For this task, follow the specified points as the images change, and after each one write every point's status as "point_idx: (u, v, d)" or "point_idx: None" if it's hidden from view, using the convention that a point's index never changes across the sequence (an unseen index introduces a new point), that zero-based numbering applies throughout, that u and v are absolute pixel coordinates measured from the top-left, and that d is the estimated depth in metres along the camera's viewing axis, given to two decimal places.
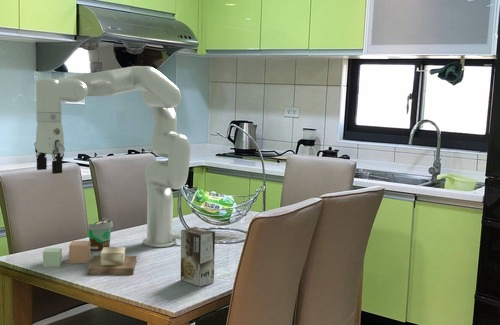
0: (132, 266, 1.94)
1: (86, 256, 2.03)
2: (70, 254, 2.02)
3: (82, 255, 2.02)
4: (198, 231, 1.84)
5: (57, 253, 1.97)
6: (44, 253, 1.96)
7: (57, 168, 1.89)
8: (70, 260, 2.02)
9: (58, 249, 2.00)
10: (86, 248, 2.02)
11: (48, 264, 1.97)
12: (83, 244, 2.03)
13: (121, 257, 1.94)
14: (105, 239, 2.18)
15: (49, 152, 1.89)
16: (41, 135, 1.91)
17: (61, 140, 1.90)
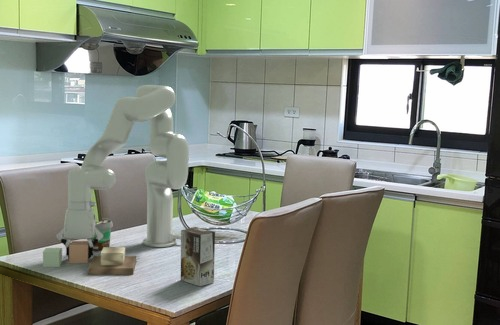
0: (132, 266, 1.94)
1: (86, 256, 2.03)
2: (70, 254, 2.02)
3: (82, 255, 2.02)
4: (198, 231, 1.84)
5: (57, 253, 1.97)
6: (44, 253, 1.96)
7: (92, 253, 2.05)
8: (70, 259, 2.02)
9: (58, 249, 2.00)
10: (86, 248, 2.02)
11: (48, 264, 1.97)
12: (83, 244, 2.03)
13: (121, 257, 1.94)
14: (105, 239, 2.18)
15: (90, 237, 2.03)
16: (77, 223, 2.01)
17: (95, 224, 2.06)
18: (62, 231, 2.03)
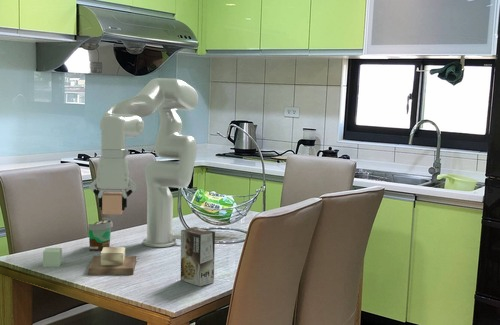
0: (132, 266, 1.94)
1: (120, 207, 1.93)
2: (103, 205, 1.92)
3: (116, 206, 1.93)
4: (198, 231, 1.84)
5: (57, 253, 1.97)
6: (44, 253, 1.96)
7: (126, 204, 1.96)
8: (103, 211, 1.93)
9: (58, 249, 2.00)
10: (120, 199, 1.93)
11: (48, 264, 1.97)
12: (117, 195, 1.94)
13: (121, 257, 1.94)
14: (105, 239, 2.18)
15: (124, 187, 1.93)
16: (111, 172, 1.92)
17: None
18: (95, 181, 1.93)
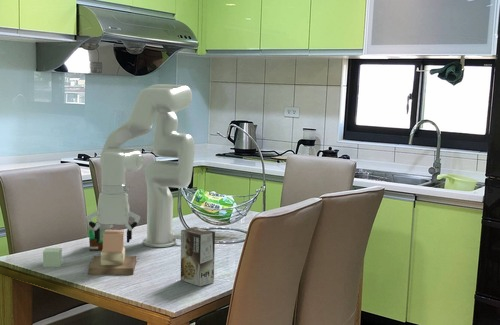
0: (132, 266, 1.94)
1: (120, 245, 1.94)
2: (104, 243, 1.94)
3: (116, 244, 1.94)
4: (198, 231, 1.84)
5: (57, 253, 1.97)
6: (44, 253, 1.96)
7: (131, 236, 1.97)
8: (103, 249, 1.94)
9: (58, 249, 2.00)
10: (120, 237, 1.94)
11: (48, 264, 1.97)
12: (117, 233, 1.95)
13: (121, 257, 1.94)
14: None
15: (124, 223, 1.95)
16: (111, 208, 1.93)
17: (129, 209, 1.98)
18: (93, 214, 1.95)
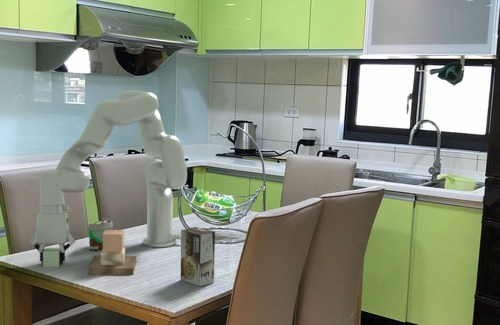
0: (132, 266, 1.94)
1: (120, 245, 1.94)
2: (104, 243, 1.94)
3: (116, 244, 1.94)
4: (198, 231, 1.84)
5: (57, 253, 1.97)
6: (44, 253, 1.96)
7: (64, 258, 2.00)
8: (103, 249, 1.94)
9: (58, 249, 2.00)
10: (120, 237, 1.94)
11: (48, 264, 1.97)
12: (117, 233, 1.95)
13: (121, 257, 1.94)
14: None
15: (63, 242, 1.97)
16: (49, 227, 1.96)
17: (68, 228, 2.00)
18: (34, 236, 1.97)
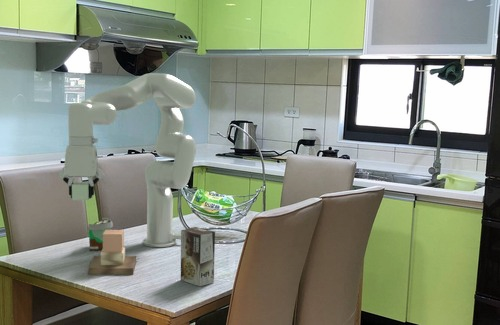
0: (132, 266, 1.94)
1: (120, 245, 1.94)
2: (104, 243, 1.94)
3: (116, 244, 1.94)
4: (198, 231, 1.84)
5: (86, 186, 1.93)
6: (73, 186, 1.93)
7: (93, 192, 1.96)
8: (103, 249, 1.94)
9: (87, 183, 1.96)
10: (120, 237, 1.94)
11: (77, 197, 1.94)
12: (117, 233, 1.95)
13: (121, 257, 1.94)
14: None
15: (92, 175, 1.94)
16: (78, 160, 1.92)
17: (97, 162, 1.97)
18: (63, 169, 1.94)
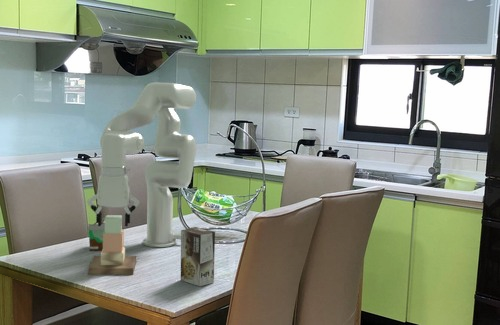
0: (132, 266, 1.94)
1: (120, 245, 1.94)
2: (104, 243, 1.94)
3: (116, 244, 1.94)
4: (198, 231, 1.84)
5: (119, 220, 1.94)
6: (106, 220, 1.93)
7: (129, 220, 1.96)
8: (103, 249, 1.94)
9: (119, 216, 1.97)
10: (120, 237, 1.94)
11: (109, 231, 1.94)
12: None
13: (121, 257, 1.94)
14: None
15: (124, 205, 1.94)
16: (111, 190, 1.92)
17: (129, 192, 1.97)
18: (94, 197, 1.94)
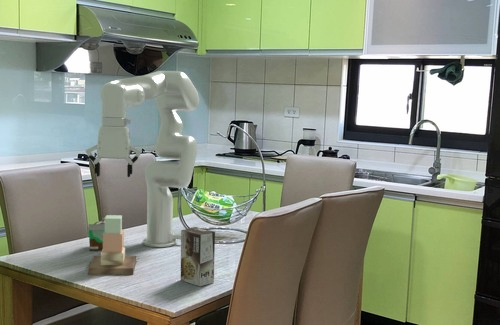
0: (132, 266, 1.94)
1: (120, 245, 1.94)
2: (104, 243, 1.94)
3: (116, 244, 1.94)
4: (198, 231, 1.84)
5: (119, 220, 1.94)
6: (106, 220, 1.93)
7: None
8: (103, 249, 1.94)
9: (119, 216, 1.97)
10: (120, 237, 1.94)
11: (109, 231, 1.94)
12: None
13: (121, 257, 1.94)
14: None
15: (125, 156, 1.92)
16: (111, 141, 1.90)
17: None
18: (93, 147, 1.92)
